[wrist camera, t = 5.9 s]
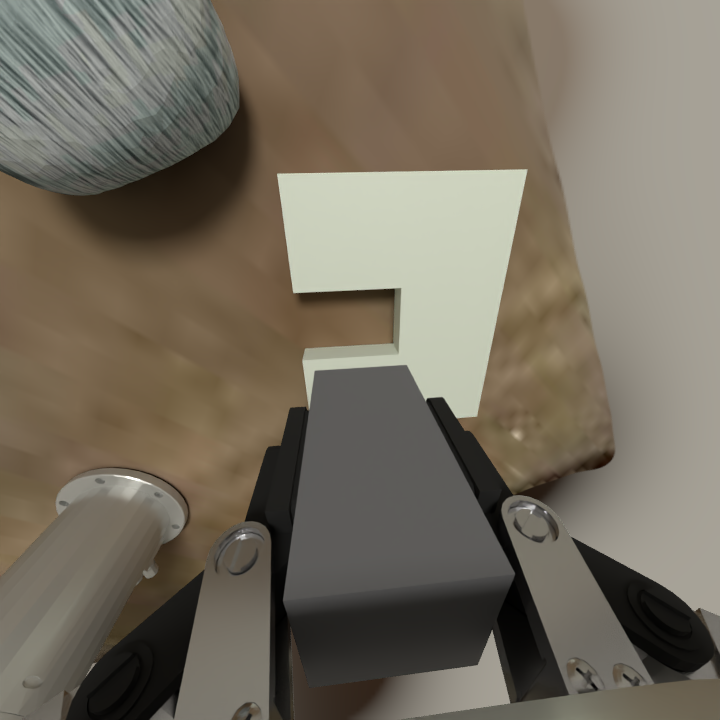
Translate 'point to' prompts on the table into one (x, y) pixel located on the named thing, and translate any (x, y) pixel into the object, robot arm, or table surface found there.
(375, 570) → the gray rectangular block
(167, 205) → the table surface
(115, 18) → the streaked blue-grey ovoid
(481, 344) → the board
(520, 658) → the robot arm
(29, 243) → the table surface
